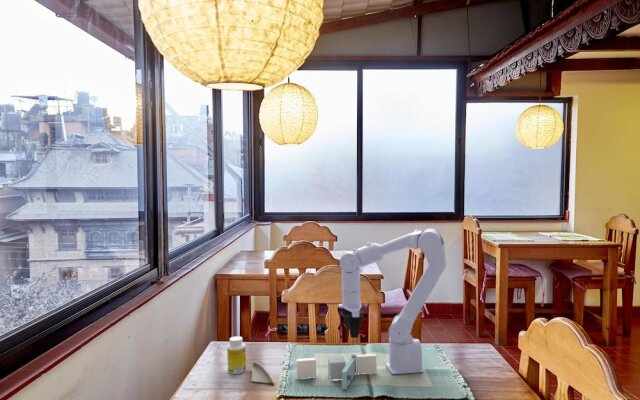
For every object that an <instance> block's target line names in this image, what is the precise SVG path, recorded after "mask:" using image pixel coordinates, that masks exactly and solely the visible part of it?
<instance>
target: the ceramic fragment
mask: <svg viewBox="0 0 640 400" xmlns="http://www.w3.org/2000/svg"><path fill="white" fill-rule="evenodd" d="M249 372H250V373H251V378H250V382H251V383H256V384H266V385H267V384H268V385H273V386H275V382H274V381H273V379H272V377H271V375H270V374H269V372H268V370H267V369H266V368H265V367H264V366H263V365H262V364H260V363H258V362H256V361H254V362H253V364H252V367H251V368H250V369H249Z"/></svg>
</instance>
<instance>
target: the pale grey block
mask: <svg viewBox="0 0 640 400" xmlns="http://www.w3.org/2000/svg"><path fill="white" fill-rule="evenodd" d="M327 363H328V364H327V365H328V370H327V371H328V377H329V376H330V378H329V380H330V379H331V380H333V379H342V370H343V369H344V367H345V366H346V365H347V362H346V360H345V356H343V355H341V356H340V355H339V356H338V355H337V356H328V358H327Z"/></svg>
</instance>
